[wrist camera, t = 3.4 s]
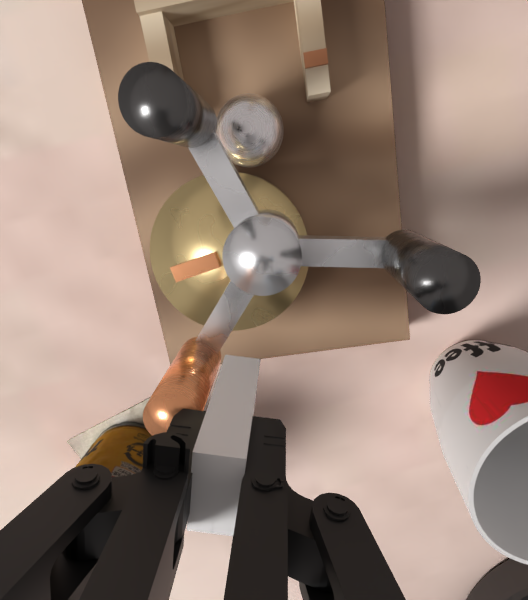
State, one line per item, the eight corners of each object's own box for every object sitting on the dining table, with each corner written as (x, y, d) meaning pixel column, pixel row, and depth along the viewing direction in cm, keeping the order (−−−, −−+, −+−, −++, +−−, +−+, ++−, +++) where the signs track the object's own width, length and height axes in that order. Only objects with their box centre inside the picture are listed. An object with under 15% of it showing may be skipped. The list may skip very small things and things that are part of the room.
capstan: (353, 52, 20) (408, -51, 11) (414, 282, 23) (497, 353, 14) (113, 147, 22) (-12, 127, 13) (198, 350, 25) (146, 452, 16)
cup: (542, 311, 25) (696, 394, 16) (533, 430, 28) (663, 565, 18) (403, 322, 26) (471, 408, 16) (405, 437, 28) (466, 572, 19)
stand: (401, 327, 26) (422, 356, 22) (180, 356, 27) (160, 389, 23) (365, -106, 20) (386, -181, 16) (86, -42, 22) (37, -95, 17)
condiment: (68, 439, 30) (-70, 605, 18) (167, 387, 28) (85, 533, 17) (127, 515, 31) (34, 712, 20) (225, 470, 30) (185, 655, 18)
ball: (288, 162, 22) (288, 159, 19) (226, 172, 22) (216, 172, 19) (278, 94, 21) (276, 80, 18) (215, 106, 21) (202, 94, 18)
